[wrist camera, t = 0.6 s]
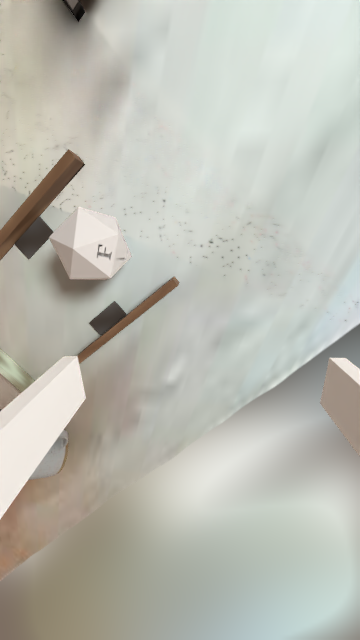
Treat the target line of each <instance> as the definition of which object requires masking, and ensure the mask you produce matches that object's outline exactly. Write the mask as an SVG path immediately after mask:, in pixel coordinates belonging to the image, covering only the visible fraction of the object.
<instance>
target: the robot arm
mask: <svg viewBox="0 0 360 640" xmlns="http://www.w3.org/2000/svg"><path fill="white" fill-rule="evenodd" d="M85 399H86V397H85V392H84V387H83V382H82V377H81V372H80V367H79V362H78V357H77V356H63V357H62V358H61V359H60V360H59V361H58V362H57V363H55V364H54V365H53V366H52V367H51V368H50V369H48V370H47V371H46V372H45V373H44V374H43V375H42V376H40V377H39V378H38V379H37V380H36V381H35V382H34V383H32V384H31V385H30V386H29V387H28V388H27V389H25V390H24V391H23V392H22V393H21V394H20V395H19V396H17V397H16V398H15V399H14V400H13V401H12V402H11V403H9V404H8V405H7V406H6V407H5V408H4V409H0V519H1V517H2V516H3V514H4V513H5V512H6V510H7V509H8V507H9V506H10V505H11V503H12V502H13V500H14V499H15V497H16V496H17V495H18V493H19V492H20V490H21V489H22V488H23V486H24V485H25V483H26V482H27V481H28V479H29V478H30V476H31V475H32V473H33V472H34V471H35V469H36V468H37V466H38V465H39V464H40V462H41V461H42V459H43V458H44V457H45V455H46V454H47V452H48V451H49V449H50V448H51V447H52V445H53V444H54V442H55V441H56V440H57V438H58V437H59V435H60V434H61V432H62V431H63V430H64V428H65V427H66V425H67V424H68V423H69V421H70V420H71V418H72V417H73V416H74V414H75V413H76V411H77V410H78V408H79V407H80V406H81V404H82V403H83V401H84V400H85ZM320 404H321V405H322V406H323V408H324V409H325V411H326V412H327V413H328V415H329V416H330V417H331V419H332V420H333V421H334V422H335V424H336V425H337V427H338V428H339V429H340V431H341V432H342V433H343V435H344V436H345V437H346V438H347V440H348V441H349V443H350V444H351V445H352V447H353V448H354V449H355V451H356V452H357V453H358V455H359V456H360V369H359V368H357V367H356V366H355V365H354V364H352V363H351V362H350V361H349V360H347V359H346V358H329V363H328V368H327V373H326V377H325V382H324V387H323V392H322V397H321V402H320Z"/></svg>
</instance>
